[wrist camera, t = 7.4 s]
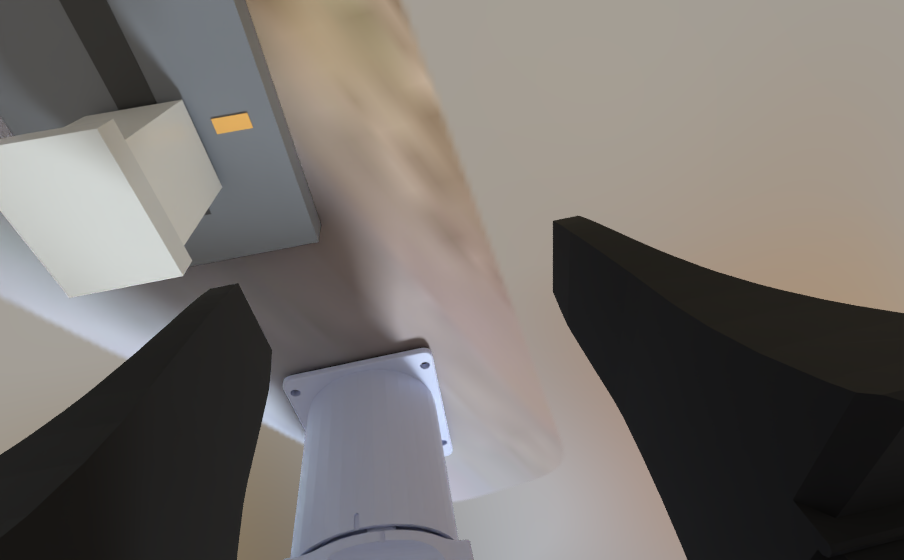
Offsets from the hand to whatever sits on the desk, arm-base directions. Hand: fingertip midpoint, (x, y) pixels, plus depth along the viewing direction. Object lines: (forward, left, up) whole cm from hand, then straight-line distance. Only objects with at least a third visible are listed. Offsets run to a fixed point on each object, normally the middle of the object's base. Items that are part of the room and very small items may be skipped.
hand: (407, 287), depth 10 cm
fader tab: (+2, +8, -8) cm, 11 cm away
